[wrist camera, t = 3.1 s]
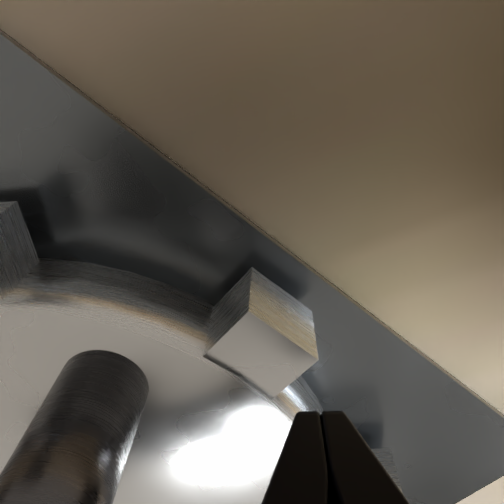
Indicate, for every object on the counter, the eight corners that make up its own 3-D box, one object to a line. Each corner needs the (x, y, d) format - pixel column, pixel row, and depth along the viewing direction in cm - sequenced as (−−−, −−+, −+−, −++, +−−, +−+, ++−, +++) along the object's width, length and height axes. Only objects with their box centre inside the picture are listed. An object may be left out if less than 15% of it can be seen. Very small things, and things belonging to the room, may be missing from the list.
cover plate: (-98, -46, 8) (-106, -47, 8) (542, 444, 13) (546, 450, 13) (-289, 474, 15) (-296, 479, 15) (172, 662, 20) (171, 667, 20)
